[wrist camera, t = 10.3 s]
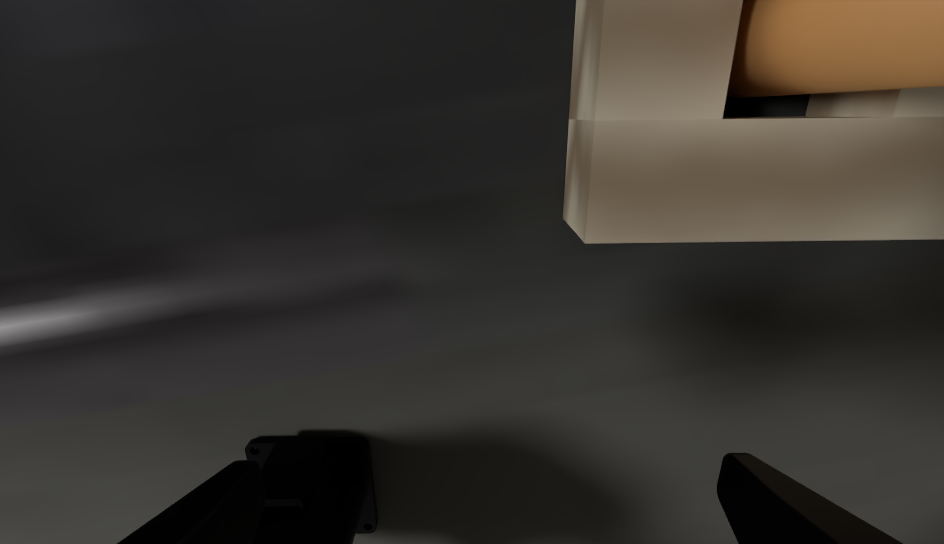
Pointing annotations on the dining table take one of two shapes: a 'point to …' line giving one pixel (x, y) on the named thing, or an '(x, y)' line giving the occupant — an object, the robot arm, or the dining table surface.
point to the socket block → (733, 142)
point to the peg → (837, 46)
